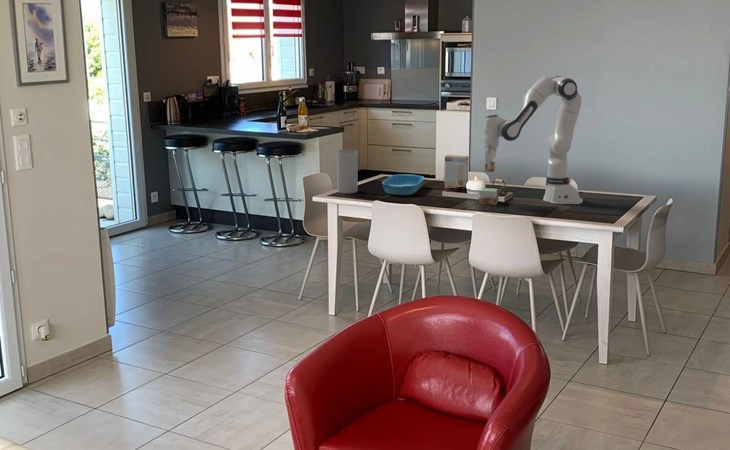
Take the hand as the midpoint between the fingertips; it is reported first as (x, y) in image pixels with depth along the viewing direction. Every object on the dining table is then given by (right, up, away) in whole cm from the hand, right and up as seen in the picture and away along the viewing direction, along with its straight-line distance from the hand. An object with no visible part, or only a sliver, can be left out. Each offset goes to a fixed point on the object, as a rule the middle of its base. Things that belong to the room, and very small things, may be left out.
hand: (490, 167), depth 459 cm
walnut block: (0, -20, +5) cm, 21 cm away
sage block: (0, -16, +5) cm, 17 cm away
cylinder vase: (-83, -13, +35) cm, 91 cm away
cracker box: (-15, -10, +44) cm, 48 cm away
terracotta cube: (0, -2, 0) cm, 2 cm away
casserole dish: (-48, -12, +39) cm, 63 cm away
